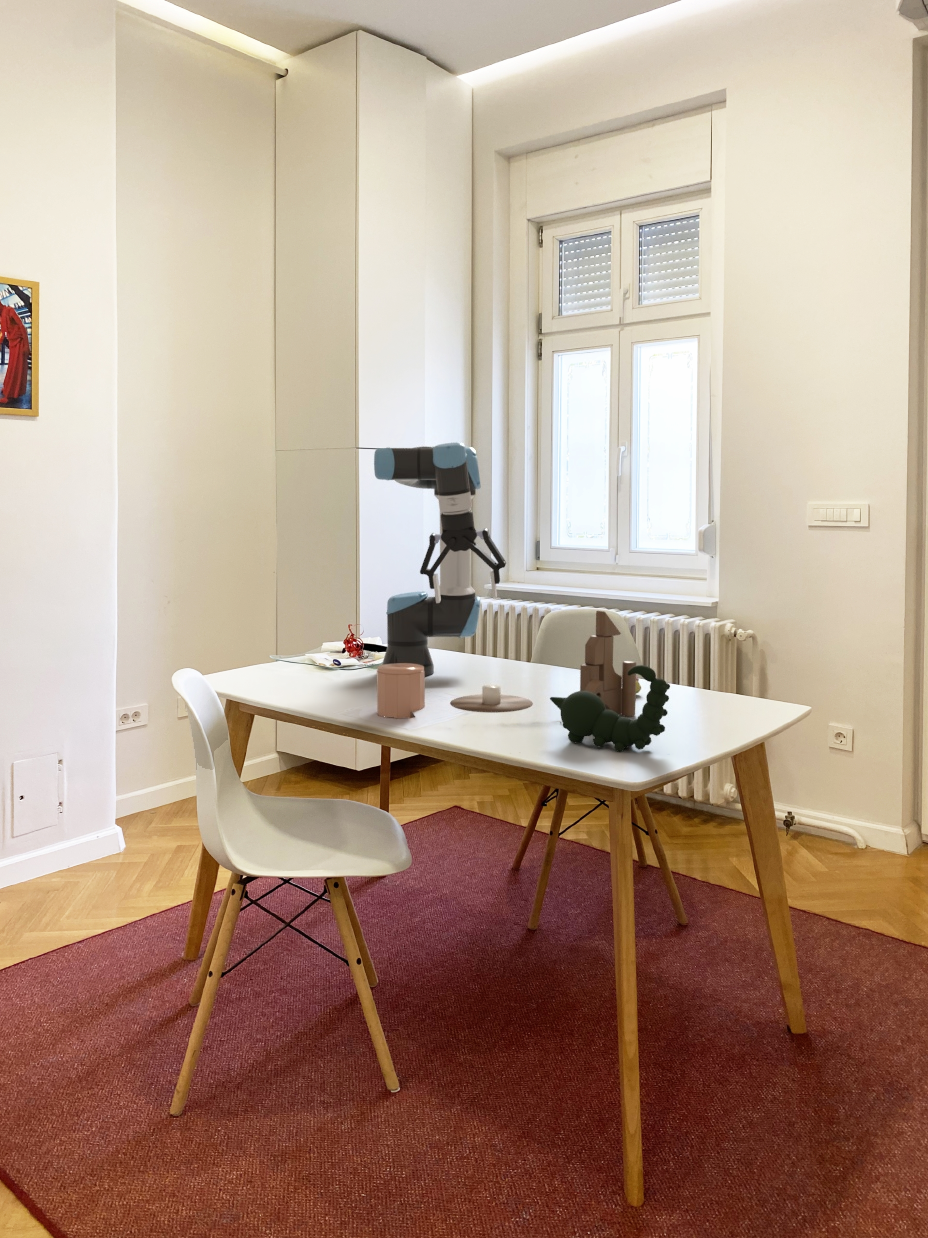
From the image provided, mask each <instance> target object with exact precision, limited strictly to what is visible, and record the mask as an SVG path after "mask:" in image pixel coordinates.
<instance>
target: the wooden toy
mask: <svg viewBox="0 0 928 1238" xmlns="http://www.w3.org/2000/svg"><path fill="white" fill-rule="evenodd" d="M621 634H622V633H621V631H620V630H619V629H618V628H617V626H616V624H614V621H612V619H611V618H610V617H609V615H608V614H607V613H606V611H605V610H604V611H602V610H596V612H595V635H590V636H589V638H588V640H587V641H586V643H585V645H584V664H581V665H580V668H579V669H580V671H579V672H580V673H579V674H580V677H579V682H580V683H579V691H589V692H592V693H594V694H596V695H597V696H598V697H600V698H601V700H602V701H603V702H604V704H605V707H606V709H609V710H612V711H614V712H616V713H617V714H618V715H619V716H620V715H621V716H622V717H626V718H631V717H635V716H636V699H637V695H636V694H637V693H636V678H637V674H632V675H630V676H629V675H628V671H629V670H630V669H631V668H633V667H634V666H637V662H636V661H634V660H624V661H622V663H621V664H622V665H621V666H622V670H621V671H622V672H621V675H620V674H618V673H617V672H616V671H615V668H614V636H620V635H621Z"/></svg>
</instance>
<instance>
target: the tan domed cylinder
mask: <svg viewBox="0 0 928 1238" xmlns="http://www.w3.org/2000/svg"><path fill="white" fill-rule="evenodd" d="M425 677H426V676H425V671H424V666H422V665H419V664H411V663H393V664H385V665H382V664H380V665H378V666H377V668H376V705H377V706H376V707H377V708H376V710H377V712H378V713H377V715H378V716H380V715H381V717H383V716H385V717H384V718H387V717H394V718H393V719H412V718H416V716H415V714H414V712H416V711H420V710H423V709H425V707H426V704H425V703H426V701H425V699H426V697H425V696H426V693H425V691H426V688H425V687H426V685H425ZM411 717H412V718H411Z"/></svg>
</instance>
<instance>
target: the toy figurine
mask: <svg viewBox="0 0 928 1238" xmlns="http://www.w3.org/2000/svg"><path fill="white" fill-rule="evenodd" d="M632 674H636V675H638V676H639V675H640V676H641V677H642V678H643V679H644V680H645V681H647V682H648V683H649V682H650V685H649V691H648V693H647V694H646V696H645V697H646V702H645V703H644V704H643V707H642V710H641V711H642V713H640V714H639V715H638V717H637V718H635V719H631V718H630V717H626V716H622V717H621V715H620V714H619V715H618V714H617V713H616V712H614V711H612V710H609V709H606V707H605V704H604V702H603V701H602V700H601V698H600V697H598V696H597V695H596V694H594V693H592V692H589V691H580V690H579V691H575V692H572V693H570V694H568V696H567V697H559V696H550V697H549V699H550V701H551V702H552V703H553V704H554V705H555V706H556V707H557V708H558V709H559V710H560V718H561V723H562V727H563V728H564V729H565V730H567V731H568V734H567V739H568V740H569V742H571V743H573V744H580V743H582V742H583V741H584V739H585V737H591V736H593V739H592V743H593V745H594V746H595V748H596V747H597V748H602V747H604V746H605V744H608V743H612V744H613V745H614V746H613V748H614V749H615V751H616V752H618V753H621V752H624V749H625V748H630V747H632V746H633V745H634V748H636V749H637V750H643V749H644V748H645V747H646V746H649V745H651V743H652V738H651V735H653V736H655V737H657V736H660V735H661V734H663V733H664V732H666V727H665V725H663V724H661V720H662V718H663V717H666V716H667V715H668V714H669V713H668V710H667V708H664V705H665V704H666V703H668V702H669V701H670V700H669V699H670V697H669V695H667V694H666V693H667V691H668V690H670V688H671V684H670V683H667V681H666V680H665V679H663V678H660V677H659V678H658V677H657V674H656V672H655V670H654V669H653V668H652V667H649V666H647V665H643V664H640V665H638V664H636V666H634V667H633V668H631V669H630V670H629V671H628V675H629V676H630V675H632Z"/></svg>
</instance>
